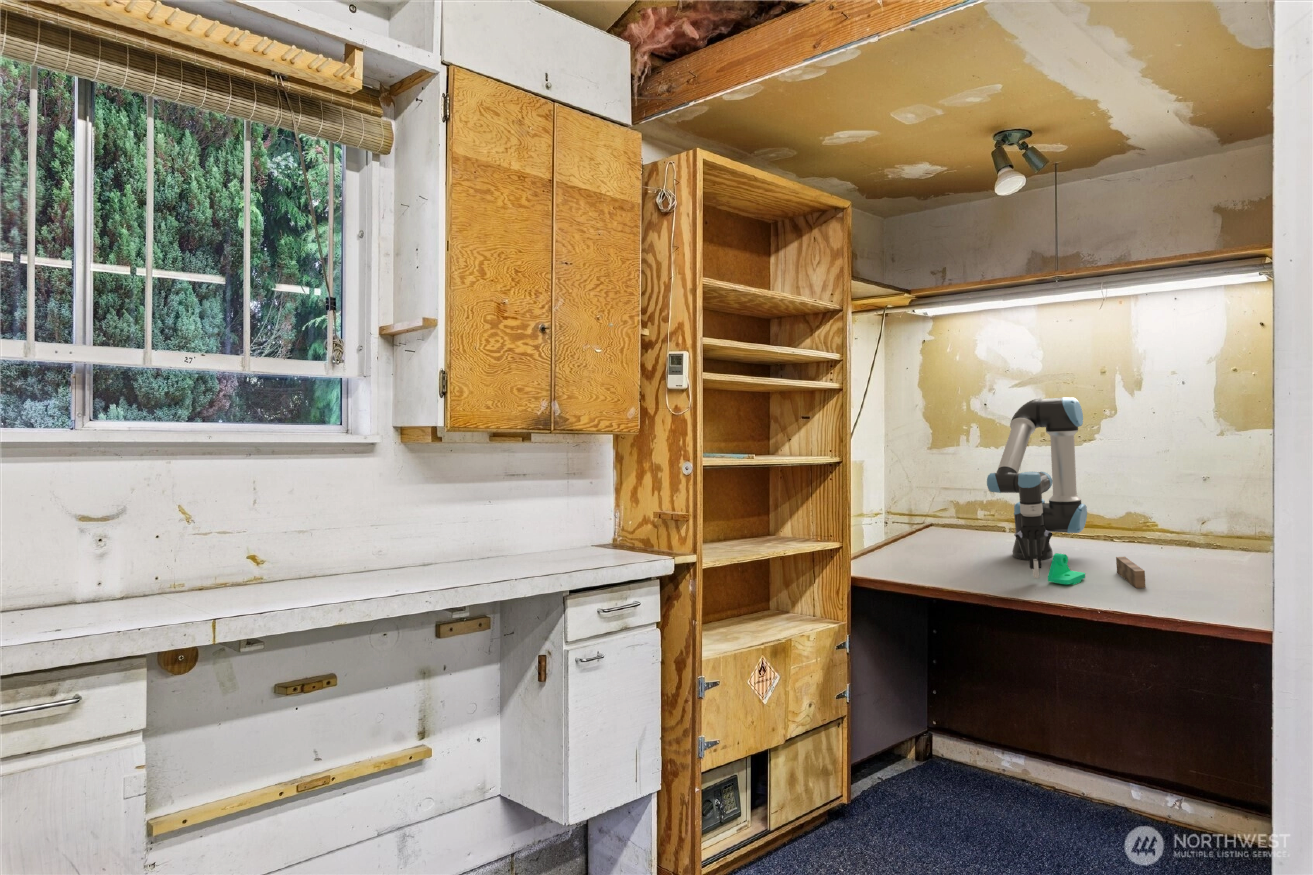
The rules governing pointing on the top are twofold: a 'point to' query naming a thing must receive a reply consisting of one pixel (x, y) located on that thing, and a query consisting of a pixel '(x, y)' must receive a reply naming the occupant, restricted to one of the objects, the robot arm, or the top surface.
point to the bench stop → (1131, 572)
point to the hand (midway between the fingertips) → (1036, 577)
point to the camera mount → (1063, 571)
